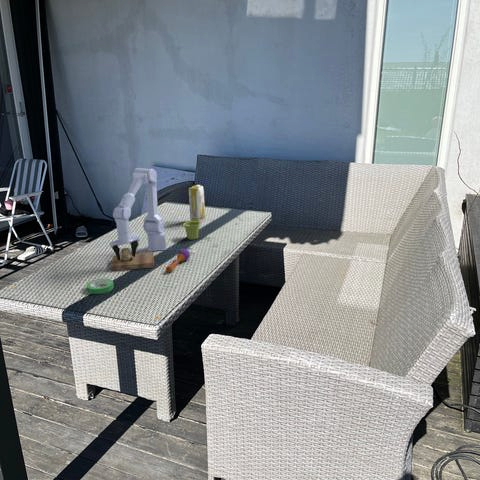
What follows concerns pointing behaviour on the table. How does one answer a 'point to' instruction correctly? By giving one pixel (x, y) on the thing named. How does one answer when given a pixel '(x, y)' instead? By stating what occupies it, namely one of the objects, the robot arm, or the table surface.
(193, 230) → the plant pot
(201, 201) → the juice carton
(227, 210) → the table surface
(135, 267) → the walnut board
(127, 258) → the beech peg
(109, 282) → the tape roll
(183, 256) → the kendama
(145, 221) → the robot arm
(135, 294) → the table surface
